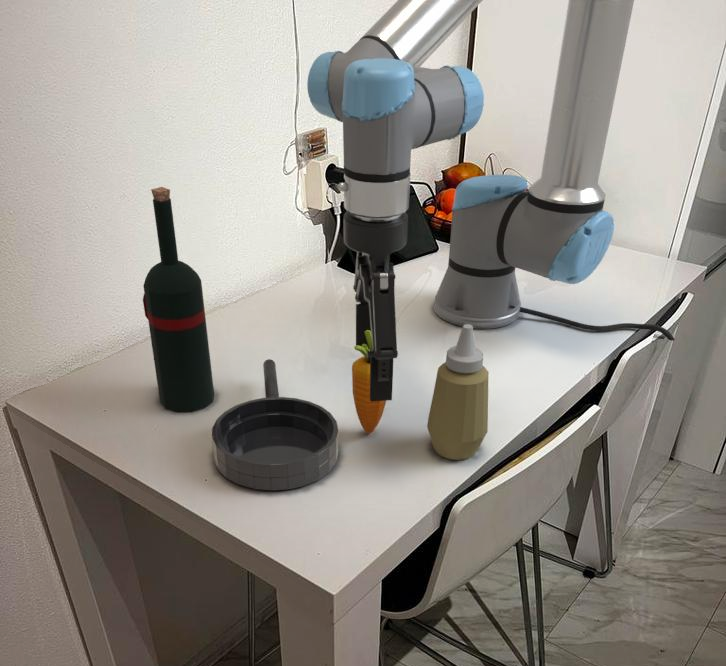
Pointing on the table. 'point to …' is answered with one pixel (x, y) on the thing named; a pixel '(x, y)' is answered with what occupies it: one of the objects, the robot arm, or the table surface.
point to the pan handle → (270, 379)
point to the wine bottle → (177, 321)
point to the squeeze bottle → (460, 401)
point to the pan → (275, 443)
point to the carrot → (365, 389)
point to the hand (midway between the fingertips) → (372, 372)
